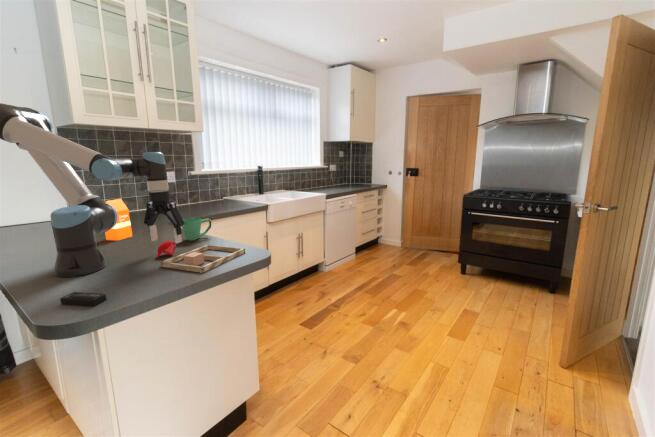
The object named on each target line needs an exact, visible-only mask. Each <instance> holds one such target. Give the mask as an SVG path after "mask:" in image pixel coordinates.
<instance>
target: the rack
mask: <svg viewBox="0 0 655 437" xmlns="http://www.w3.org/2000/svg"><path fill="white" fill-rule="evenodd" d="M208 250H211V251H212V250H213V251H222V252H228V253H229V252H231V253H229V254H227V255H225V256H220V255H212V254H204V253H203V252H205V251H208ZM192 252H197V253H203V255H204V261H212V262H210V263H207V264H204V265H202V266H200V265H198V266H192V265H185V264H184V263H177V262H179V261H181V260H184V257H183V256H184V255H187V254H189V253H192ZM243 254H246V248H245V247H235V246H225V245H224V246H223V245H217V244H205V245H203V246H201V247H197V248H195V249H192V250H190V251H187V252H184V253H182V254H179V255H176V256H173V257H171V258H170V257H169V258H168V259H166V260H165V259H164V260H163V261H160V267H162V268H168V269H173V270H174V269H175V270H180V271H187V272H188V271H189V272H193V273H194V272H195V273H202V274H203V273H205V272H208V271H209V270H212V269H214V268H216V267H218V266H220V265H222V264H224V263H226V262H229V261H230V260H233V259H235V258H237V257H239V256H241V255H243Z"/></svg>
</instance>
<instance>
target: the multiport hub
mask: <svg viewBox="0 0 655 437" xmlns="http://www.w3.org/2000/svg"><path fill="white" fill-rule="evenodd" d="M59 300H60V305H61V306H74V307H75V306H77V307H92V308H94V307H97V306H99V305H100V304H102V303H104V302H106V301H107V300H108V299H107V294H106V293H104V292H103V293H99V292H80V291H79V292H77V291H73V292H70V293H68V294H66V295H65V296H62V297H60V298H59Z"/></svg>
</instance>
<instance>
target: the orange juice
mask: <svg viewBox="0 0 655 437" xmlns="http://www.w3.org/2000/svg"><path fill="white" fill-rule="evenodd" d="M105 203H107V204H110V205H111V206H113V207H114V208H115V210H116V211H117V215H118V219H117V223H116V225H115V226H114V227H113V228H112V229H110V230H109V231H107V232H105V239H106V241H121V240H124V239H128V238H131V237H133V230H132V224H131V218H130V211H129V208H128V207H127V205H126V204H125V202H124V201H123V200H122V198H117V199H111V200H106V202H105Z"/></svg>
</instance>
